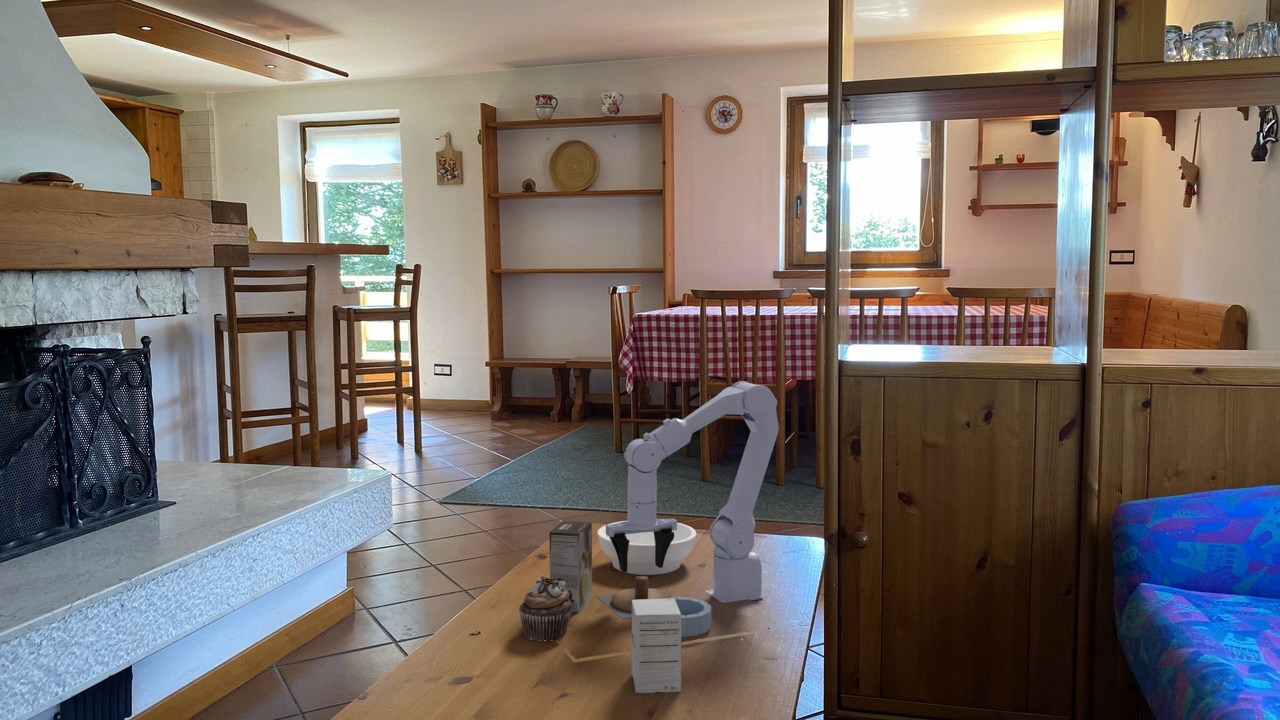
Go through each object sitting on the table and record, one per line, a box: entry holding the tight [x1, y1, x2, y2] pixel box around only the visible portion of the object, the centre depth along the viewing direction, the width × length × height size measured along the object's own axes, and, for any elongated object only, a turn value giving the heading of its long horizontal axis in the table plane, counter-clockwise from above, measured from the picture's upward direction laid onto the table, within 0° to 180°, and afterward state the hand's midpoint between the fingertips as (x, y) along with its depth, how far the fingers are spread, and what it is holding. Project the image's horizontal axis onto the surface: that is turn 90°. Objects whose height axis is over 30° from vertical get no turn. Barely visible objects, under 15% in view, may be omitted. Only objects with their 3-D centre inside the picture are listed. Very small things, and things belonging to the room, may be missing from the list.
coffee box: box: [549, 520, 593, 613], centre depth 179 cm, size 9×6×16 cm
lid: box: [611, 575, 673, 613], centre depth 180 cm, size 12×12×5 cm
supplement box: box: [631, 599, 682, 694], centre depth 144 cm, size 7×7×13 cm
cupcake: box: [518, 576, 572, 642], centre depth 165 cm, size 10×10×10 cm
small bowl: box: [665, 596, 712, 638], centre depth 168 cm, size 11×11×4 cm
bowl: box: [596, 520, 697, 576], centre depth 205 cm, size 22×22×8 cm
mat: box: [595, 587, 664, 620], centre depth 180 cm, size 14×14×1 cm
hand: (641, 568), depth 179 cm, fingers open, 7 cm apart
